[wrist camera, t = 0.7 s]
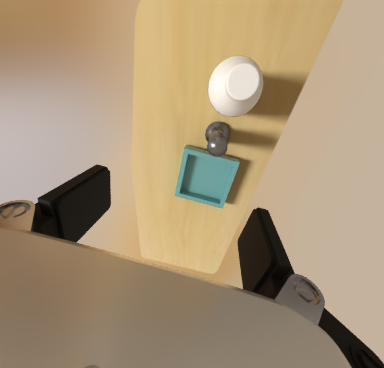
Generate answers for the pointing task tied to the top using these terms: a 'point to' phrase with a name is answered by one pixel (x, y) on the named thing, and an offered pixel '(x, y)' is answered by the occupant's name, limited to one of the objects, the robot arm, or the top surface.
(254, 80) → the bath foam
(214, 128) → the post
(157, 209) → the top surface
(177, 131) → the top surface
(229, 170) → the holder tray
